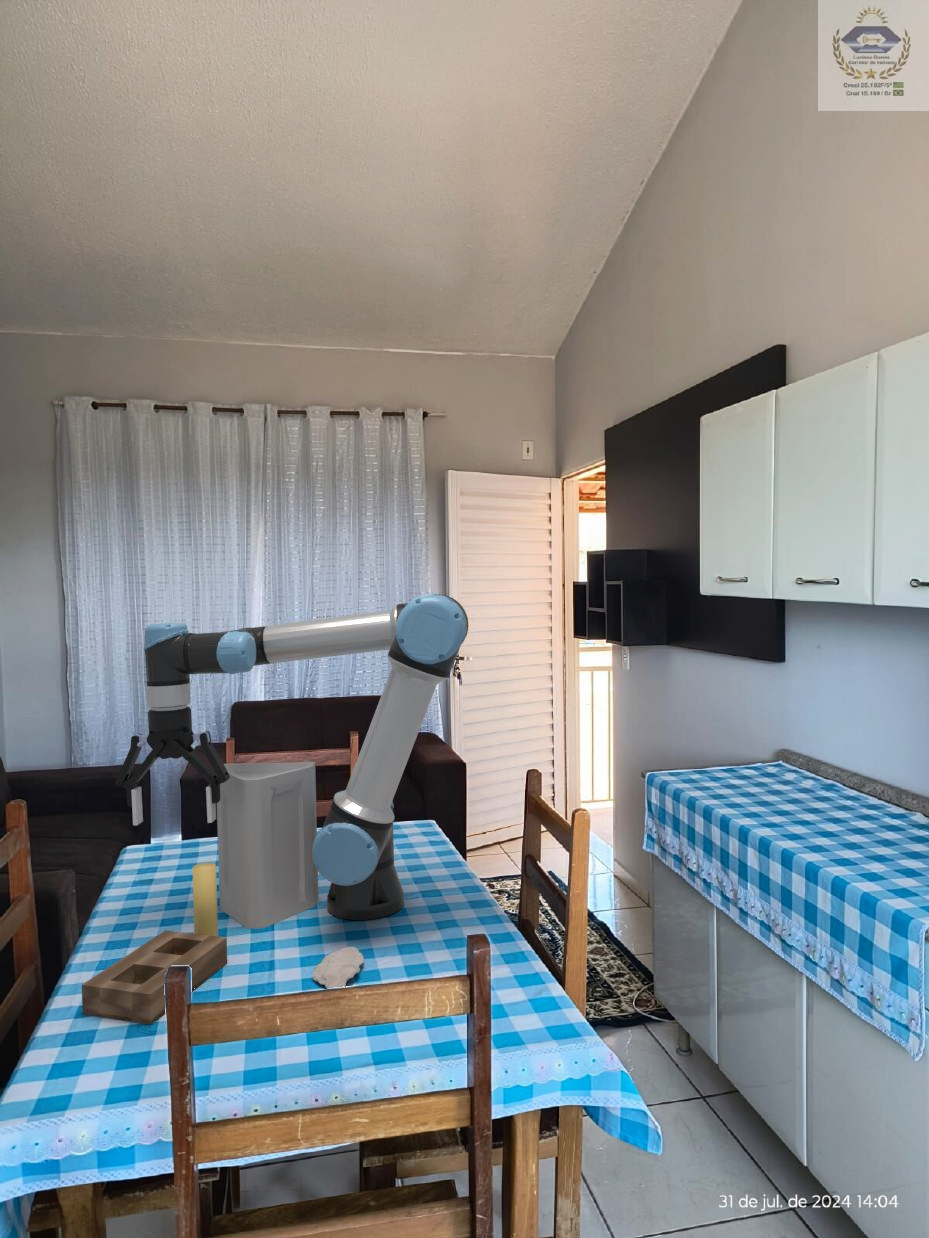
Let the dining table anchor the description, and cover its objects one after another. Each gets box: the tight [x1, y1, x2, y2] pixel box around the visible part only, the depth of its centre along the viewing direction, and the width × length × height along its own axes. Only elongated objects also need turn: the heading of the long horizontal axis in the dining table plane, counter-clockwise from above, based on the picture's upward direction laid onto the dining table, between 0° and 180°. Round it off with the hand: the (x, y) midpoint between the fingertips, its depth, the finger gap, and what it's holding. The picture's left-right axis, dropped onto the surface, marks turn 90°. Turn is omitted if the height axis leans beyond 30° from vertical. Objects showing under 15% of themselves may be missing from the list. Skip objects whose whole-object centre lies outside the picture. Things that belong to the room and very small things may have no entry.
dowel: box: [192, 862, 219, 936], centre depth 146 cm, size 4×4×14 cm
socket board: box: [81, 930, 228, 1026], centre depth 130 cm, size 12×20×4 cm, turn 164°
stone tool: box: [311, 946, 365, 989], centre depth 133 cm, size 8×3×15 cm
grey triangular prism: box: [216, 761, 319, 930], centre depth 159 cm, size 19×15×28 cm
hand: (175, 822), depth 150 cm, fingers open, 13 cm apart
